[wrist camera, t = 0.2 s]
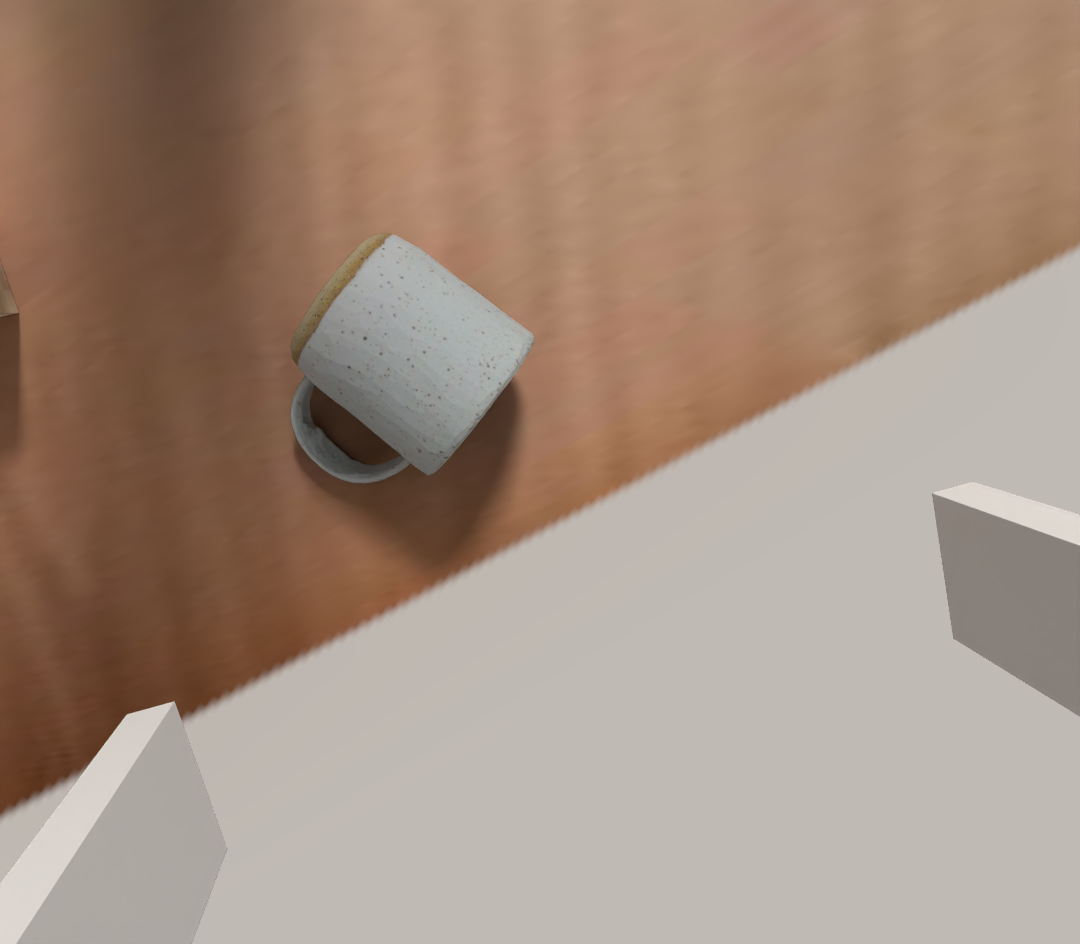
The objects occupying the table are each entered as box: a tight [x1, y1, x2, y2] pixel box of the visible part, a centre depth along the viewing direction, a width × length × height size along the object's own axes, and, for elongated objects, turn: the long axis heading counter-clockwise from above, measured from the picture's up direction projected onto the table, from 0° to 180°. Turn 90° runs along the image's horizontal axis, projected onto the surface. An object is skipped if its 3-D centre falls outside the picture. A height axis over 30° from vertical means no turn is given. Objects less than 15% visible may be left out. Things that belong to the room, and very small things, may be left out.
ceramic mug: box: [291, 233, 534, 483], centre depth 37 cm, size 11×8×8 cm
